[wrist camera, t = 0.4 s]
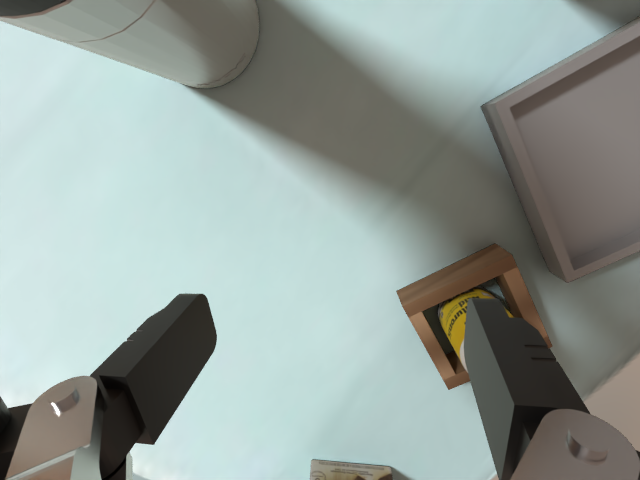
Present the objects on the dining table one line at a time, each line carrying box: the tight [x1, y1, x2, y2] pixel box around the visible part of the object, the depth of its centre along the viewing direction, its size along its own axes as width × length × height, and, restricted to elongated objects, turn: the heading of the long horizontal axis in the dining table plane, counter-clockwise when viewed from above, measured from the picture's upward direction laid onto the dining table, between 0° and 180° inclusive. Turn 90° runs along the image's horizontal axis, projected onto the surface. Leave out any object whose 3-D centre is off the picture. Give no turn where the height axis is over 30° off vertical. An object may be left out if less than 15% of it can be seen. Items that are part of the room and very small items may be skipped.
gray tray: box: [481, 17, 640, 283], centre depth 27 cm, size 16×14×2 cm
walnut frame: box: [396, 244, 553, 389], centre depth 31 cm, size 10×10×3 cm
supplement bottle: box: [438, 286, 513, 372], centre depth 28 cm, size 5×5×10 cm
